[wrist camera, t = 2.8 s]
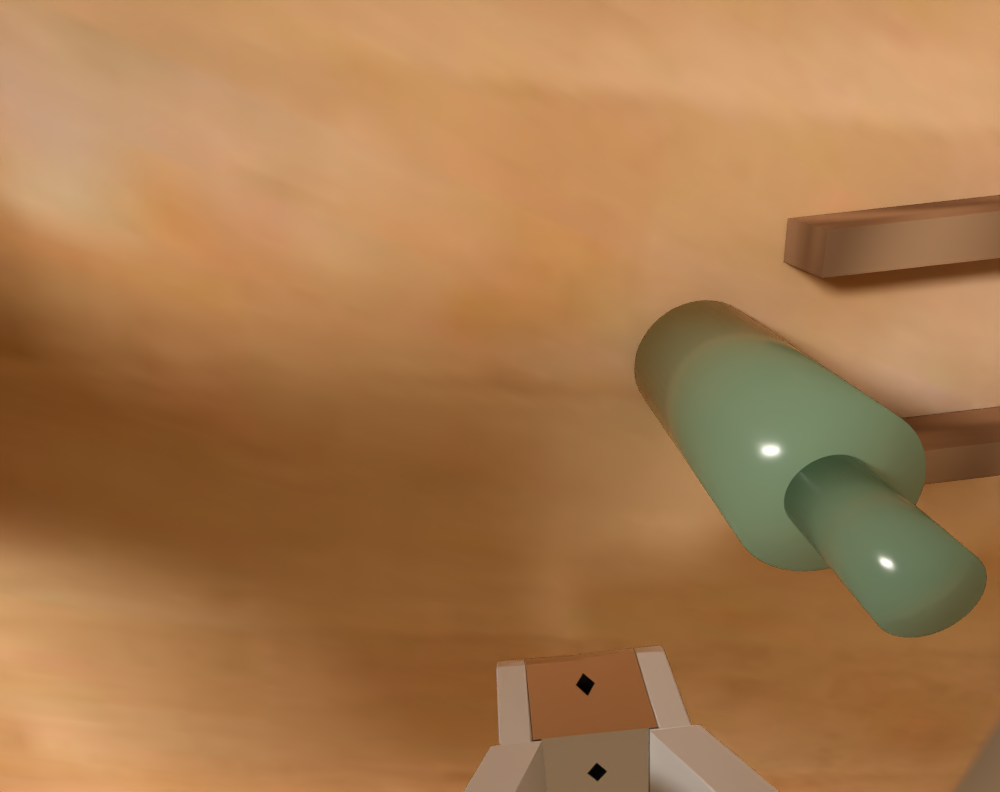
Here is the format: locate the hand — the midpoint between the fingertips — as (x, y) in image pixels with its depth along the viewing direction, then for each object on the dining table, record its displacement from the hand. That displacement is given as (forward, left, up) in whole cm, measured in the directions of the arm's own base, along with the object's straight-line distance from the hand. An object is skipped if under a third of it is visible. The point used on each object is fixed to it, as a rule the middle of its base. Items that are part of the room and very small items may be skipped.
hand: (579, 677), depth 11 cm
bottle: (+7, 0, -13) cm, 15 cm away
